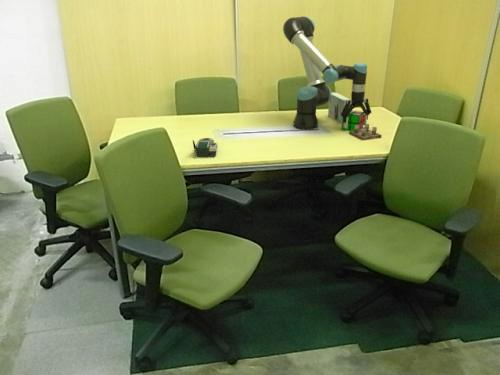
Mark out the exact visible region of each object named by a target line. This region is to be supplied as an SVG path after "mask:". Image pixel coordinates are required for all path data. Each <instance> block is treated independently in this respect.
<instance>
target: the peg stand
mask: <svg viewBox="0 0 500 375" xmlns="http://www.w3.org/2000/svg"><path fill="white" fill-rule="evenodd" d="M377 129H378V127H377V126H372V129H371V130H370V124H369V123H366V124H365V126H364V127H363V128H362V129H360V130H359V125H355V130H354V131H350V130H348V135H350V136H352V137H354V138H356V139H359V140H360V141H367V140H368V141H369V140H374V139H381V138H382V134H380V133H378V132H377Z"/></svg>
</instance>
